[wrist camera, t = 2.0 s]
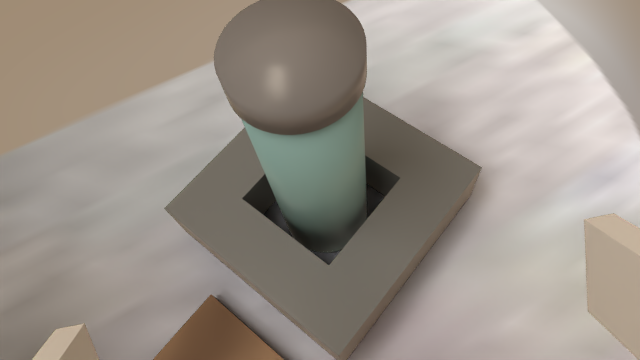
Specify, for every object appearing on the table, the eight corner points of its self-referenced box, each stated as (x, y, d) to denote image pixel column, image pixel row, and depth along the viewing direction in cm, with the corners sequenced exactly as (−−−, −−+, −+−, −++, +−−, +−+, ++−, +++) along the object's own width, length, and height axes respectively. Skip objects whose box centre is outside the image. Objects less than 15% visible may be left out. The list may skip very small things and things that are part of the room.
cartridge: (265, 221, 34) (182, 62, 19) (320, 160, 36) (282, -27, 21) (332, 273, 32) (296, 139, 17) (387, 205, 34) (397, 32, 19)
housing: (186, 231, 34) (164, 208, 31) (313, 97, 38) (307, 64, 35) (342, 365, 29) (338, 356, 26) (470, 195, 33) (481, 167, 30)
